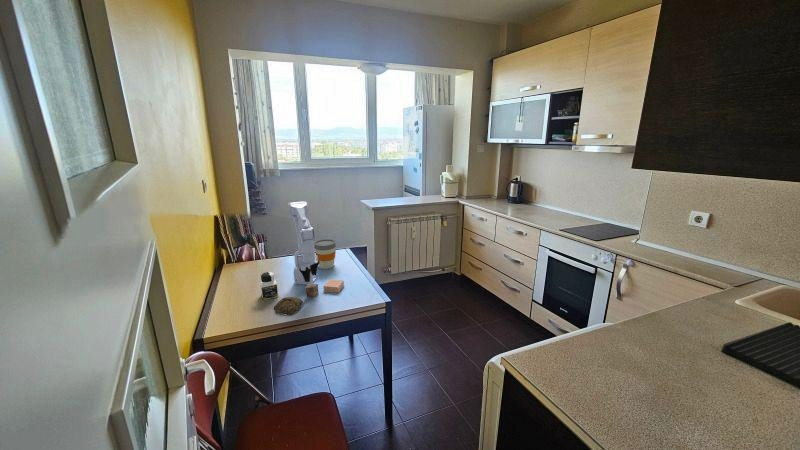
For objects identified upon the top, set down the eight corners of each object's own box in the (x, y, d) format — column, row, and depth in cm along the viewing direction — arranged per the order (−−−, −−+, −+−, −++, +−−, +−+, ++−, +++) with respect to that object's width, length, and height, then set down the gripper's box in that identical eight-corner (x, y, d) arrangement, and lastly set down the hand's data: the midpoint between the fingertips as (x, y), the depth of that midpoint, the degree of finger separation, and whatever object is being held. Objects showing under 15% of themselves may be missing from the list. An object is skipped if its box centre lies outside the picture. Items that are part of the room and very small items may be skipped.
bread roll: (306, 302, 160) (305, 293, 158) (294, 316, 148) (293, 306, 147) (282, 300, 162) (281, 291, 161) (268, 313, 150) (267, 304, 149)
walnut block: (306, 297, 165) (305, 287, 163) (310, 293, 169) (309, 283, 167) (314, 298, 164) (313, 287, 162) (318, 293, 168) (317, 283, 167)
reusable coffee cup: (316, 262, 207) (314, 240, 203) (336, 260, 210) (334, 238, 206) (316, 270, 195) (314, 246, 191) (337, 268, 198) (336, 244, 194)
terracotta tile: (323, 291, 170) (323, 286, 170) (329, 284, 178) (329, 279, 177) (338, 292, 169) (338, 287, 168) (344, 285, 176) (343, 280, 176)
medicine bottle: (263, 300, 162) (260, 277, 158) (261, 294, 168) (258, 272, 165) (278, 296, 165) (275, 274, 162) (276, 291, 171) (273, 269, 168)
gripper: (309, 258, 152) (312, 285, 156) (322, 247, 166) (324, 272, 170) (295, 257, 154) (298, 284, 157) (309, 247, 167) (311, 271, 171)
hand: (310, 278), depth 164 cm, fingers open, 7 cm apart
